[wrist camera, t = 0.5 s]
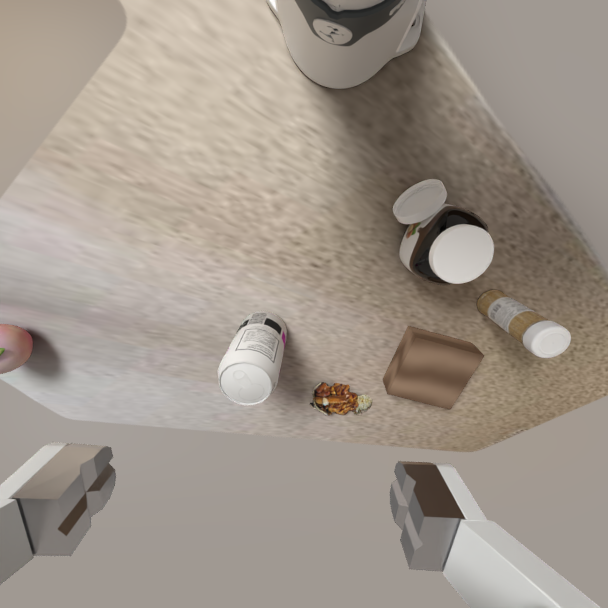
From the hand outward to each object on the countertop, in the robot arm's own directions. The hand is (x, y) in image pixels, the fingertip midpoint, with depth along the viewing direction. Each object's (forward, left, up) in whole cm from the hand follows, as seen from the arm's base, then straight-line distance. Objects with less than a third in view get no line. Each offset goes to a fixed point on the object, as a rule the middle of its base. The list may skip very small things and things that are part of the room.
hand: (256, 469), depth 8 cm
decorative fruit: (+32, -46, -39) cm, 68 cm away
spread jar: (-6, +16, -39) cm, 43 cm away
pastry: (+28, +15, -40) cm, 51 cm away
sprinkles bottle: (+2, +32, -39) cm, 51 cm away
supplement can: (+18, -3, -39) cm, 43 cm away
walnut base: (+16, +27, -39) cm, 50 cm away
